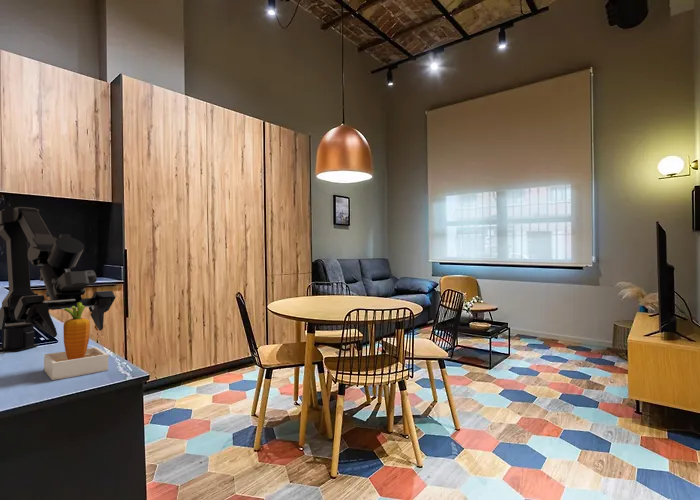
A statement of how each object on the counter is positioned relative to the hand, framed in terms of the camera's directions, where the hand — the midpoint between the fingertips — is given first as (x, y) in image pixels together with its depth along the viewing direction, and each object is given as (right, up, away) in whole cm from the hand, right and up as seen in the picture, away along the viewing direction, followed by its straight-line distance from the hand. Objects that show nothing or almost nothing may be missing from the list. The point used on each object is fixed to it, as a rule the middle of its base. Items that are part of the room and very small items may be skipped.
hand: (79, 332), depth 86 cm
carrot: (-1, -8, +1) cm, 9 cm away
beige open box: (-1, -9, 0) cm, 9 cm away
